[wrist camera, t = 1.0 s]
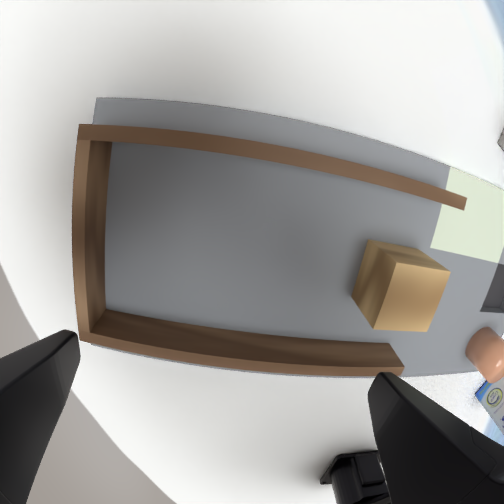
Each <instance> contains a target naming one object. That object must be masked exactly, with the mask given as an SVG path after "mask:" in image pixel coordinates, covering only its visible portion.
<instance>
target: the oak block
mask: <svg viewBox="0 0 504 504" xmlns="http://www.w3.org/2000/svg"><path fill="white" fill-rule="evenodd" d="M450 273H451V271H449V270H448V269H446V268H445V267H444V266H442V265H441V264H439V263H438V262H436V261H435V260H434V259H432V258H431V257H429V256H428V255H426V254H425V253H423V252H422V251H420V250H419V249H416V248H411V247H406V246H401V245H396V244H391V243H386V242H380V241H375V240H370V239H368V242H367V245H366V249H365V252H364V256H363V259H362V263H361V266H360V270H359V273H358V276H357V279H356V283H355V286H354V289H353V292H352V295H351V297H352V299H353V300H354V302H355V303H356V305H357V306H358V308H359V309H360V311H361V312H362V314H363V315H364V317H365V318H366V320H367V321H368V322H369V324H370V325H371V327H372V329H376V330H393V331H415V332H427V330H428V328H429V326H430V324H431V321H432V319H433V317H434V314H435V312H436V310H437V307H438V305H439V302H440V300H441V297H442V294H443V292H444V289H445V287H446V284H447V281H448V278H449V276H450Z"/></svg>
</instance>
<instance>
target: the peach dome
mask: <svg viewBox="0 0 504 504" xmlns="http://www.w3.org/2000/svg"><path fill="white" fill-rule="evenodd" d="M465 355H466V357H467V358H468V359H469V360H470V362H471V363H472V364H473V365H474V366H475V367H476V369H477V370H478V371H479V372H480V373H481V374H482V375H483V377H484V378H485V379H486V380H487V381H488V382H489V383H495V382H497V381H499V380H500V379H501V378H503V377H504V340H503V339H502V338H501V337H500V336H499V335H498V334H497V333H496V332H495V331H494V330H493V329H491V328H490V327H483V328H481V329H480V330H478V331H477V332H476V333H475V334H474V335H473V336H472V338H471V339H470V340H469V342H468V344H467V346H466V350H465Z"/></svg>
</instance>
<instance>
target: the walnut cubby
mask: <svg viewBox="0 0 504 504" xmlns="http://www.w3.org/2000/svg"><path fill="white" fill-rule="evenodd" d="M112 142H125V143H137V144H148V145H158V146H168V147H177V148H185V149H193V150H201V151H208V152H216V153H223V154H229V155H236V156H242V157H248V158H254V159H260V160H266V161H271V162H277V163H282V164H287V165H292V166H297V167H302V168H307V169H312V170H317V171H321V172H326V173H330V174H335V175H339V176H343V177H347V178H352V179H356V180H360V181H364V182H368V183H372V184H376V185H379V186H383V187H387V188H391V189H394V190H398V191H402V192H405V193H409V194H412V195H416V196H419V197H422V198H426V199H429V200H432V201H435V202H439V203H442V204H445V205H448V206H451V207H454V208H457V209H460V210H463V211H464V209H465V205H466V201H467V197H464V196H461V195H458V194H456V193H453V192H450V191H447V190H444V189H441V188H439V187H436V186H433V185H430V184H427V183H424V182H420V181H417V180H414V179H411V178H408V177H404V176H401V175H398V174H395V173H391V172H388V171H384V170H381V169H377V168H373V167H370V166H366V165H362V164H359V163H355V162H351V161H347V160H343V159H339V158H335V157H330V156H326V155H322V154H317V153H313V152H308V151H304V150H299V149H294V148H289V147H284V146H279V145H274V144H268V143H263V142H257V141H251V140H245V139H239V138H233V137H226V136H219V135H212V134H204V133H196V132H188V131H179V130H170V129H159V128H147V127H134V126H118V125H95V124H79V129H78V136H77V145H76V155H75V166H74V180H73V200H72V258H73V278H74V292H75V304H76V313H77V322H78V330H79V338H80V340H81V341H85V342H88V343H92V344H97V345H101V346H105V347H109V348H114V349H118V350H123V351H127V352H132V353H137V354H142V355H147V356H152V357H158V358H163V359H169V360H175V361H181V362H187V363H194V364H200V365H207V366H215V367H223V368H231V369H240V370H249V371H259V372H271V373H284V374H299V375H319V376H376V375H377V374H378V373H379V372H392V373H393V374H395V375H396V376H401V374H402V372H403V370H404V368H405V366H404V365H403V363H402V362H401V360H400V359H399V357H398V356H397V354H396V353H395V351H394V350H393V348H392V347H391V345H390V344H389V343H374V342H354V341H337V340H323V339H311V338H299V337H288V336H278V335H269V334H260V333H251V332H243V331H235V330H227V329H220V328H213V327H206V326H199V325H192V324H186V323H180V322H174V321H168V320H162V319H156V318H150V317H145V316H140V315H134V314H129V313H124V312H119V311H114V310H109V309H106V295H105V226H106V205H107V190H108V178H109V167H110V158H111V149H112Z"/></svg>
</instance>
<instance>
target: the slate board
mask: <svg viewBox="0 0 504 504" xmlns="http://www.w3.org/2000/svg"><path fill="white" fill-rule="evenodd" d="M93 124H95V125H118V126H134V127H147V128H159V129H170V130H179V131H188V132H196V133H204V134H212V135H219V136H226V137H233V138H239V139H245V140H251V141H257V142H263V143H268V144H274V145H279V146H284V147H289V148H294V149H299V150H304V151H308V152H313V153H317V154H322V155H326V156H330V157H335V158H339V159H343V160H347V161H351V162H355V163H359V164H362V165H366V166H370V167H373V168H377V169H381V170H384V171H388V172H391V173H395V174H398V175H401V176H404V177H408V178H411V179H414V180H417V181H420V182H424V183H427V184H430V185H433V186H436V187H439V188H441V189H444V190H447V191H450V192H453V193H456V194H458V195H461V196H464V197H467V201H466V205H465V209H464V211H463V210H460V209H457V208H454V207H451V206H448V205H445V204H442V203H439V202H435V201H432V200H429V199H426V198H422V197H419V196H416V195H412V194H409V193H405V192H402V191H398V190H394V189H391V188H387V187H383V186H379V185H376V184H372V183H368V182H364V181H360V180H356V179H352V178H347V177H343V176H339V175H335V174H330V173H326V172H321V171H317V170H312V169H307V168H302V167H297V166H292V165H287V164H282V163H277V162H271V161H266V160H260V159H254V158H248V157H242V156H236V155H229V154H223V153H216V152H208V151H201V150H193V149H185V148H177V147H168V146H158V145H148V144H137V143H125V142H112V149H111V158H110V167H109V178H108V190H107V205H106V226H105V295H106V309H109V310H114V311H119V312H124V313H129V314H134V315H140V316H145V317H150V318H156V319H162V320H168V321H174V322H180V323H186V324H192V325H199V326H206V327H213V328H220V329H227V330H235V331H243V332H251V333H260V334H269V335H278V336H288V337H299V338H311V339H323V340H337V341H354V342H374V343H389V344H390V345H391V347H392V348H393V350H394V351H395V353H396V354H397V356H398V357H399V359H400V360H401V362H402V363H403V365H404V366H405V368H404V370H403V372H402V374H401V376H398V377H415V376H431V375H445V374H456V373H466V372H474V371H478V370H477V369H476V367H475V366H474V365H473V364H472V363H471V362H470V360H469V359H468V358H467V357H466V355H465V350H466V346H467V344H468V342H469V340H470V339H471V338H472V336H473V335H474V334H475V333H476V332H477V331H478V330H480V329H481V328H483V327H490V328H491V329H493V330H494V331H495V332H496V333H497V334H498V335H499V336H500V337H502V335H503V333H504V190H502V189H500V188H498V187H496V186H494V185H492V184H489V183H487V182H485V181H483V180H481V179H478V178H476V177H474V176H472V175H469V174H467V173H465V172H462V171H460V170H457V169H455V168H453V167H450V166H448V165H445V164H443V163H440V162H437V161H435V160H432V159H429V158H427V157H424V156H421V155H418V154H416V153H413V152H410V151H407V150H404V149H401V148H398V147H395V146H392V145H389V144H386V143H383V142H379V141H376V140H373V139H370V138H366V137H363V136H359V135H356V134H352V133H349V132H345V131H341V130H337V129H333V128H329V127H325V126H321V125H317V124H313V123H309V122H304V121H300V120H295V119H290V118H286V117H281V116H276V115H270V114H265V113H259V112H254V111H248V110H241V109H235V108H228V107H221V106H214V105H206V104H197V103H188V102H177V101H165V100H151V99H132V98H97V99H96V105H95V111H94V117H93ZM368 239H370V240H375V241H380V242H386V243H391V244H396V245H401V246H406V247H411V248H416V249H419V250H420V251H422V252H423V253H425V254H426V255H428V256H429V257H431V258H432V259H434V260H435V261H436V262H438V263H439V264H441V265H442V266H444V267H445V268H446V269H448V270H449V271H451V273H450V276H449V278H448V281H447V284H446V287H445V289H444V292H443V294H442V297H441V300H440V302H439V305H438V307H437V310H436V312H435V314H434V317H433V319H432V321H431V324H430V326H429V328H428V330H427V332H415V331H393V330H376V329H372V327H371V325H370V324H369V322H368V321H367V320H366V318H365V317H364V315H363V314H362V312H361V311H360V309H359V308H358V306H357V305H356V303H355V302H354V300H353V299H352V297H351V295H352V292H353V289H354V286H355V283H356V279H357V276H358V273H359V270H360V266H361V263H362V259H363V256H364V252H365V249H366V245H367V242H368ZM91 345H94V346H98V347H102V348H106V349H111V350H115V351H120V352H124V353H129V354H134V355H139V356H144V357H149V358H154V359H159V360H165V361H171V362H177V363H183V364H189V365H196V366H203V367H210V368H217V369H225V370H234V371H243V372H253V373H263V374H275V375H289V376H307V377H333V378H375V377H376V376H319V375H299V374H284V373H271V372H259V371H249V370H240V369H231V368H223V367H215V366H207V365H200V364H194V363H187V362H181V361H175V360H169V359H163V358H158V357H152V356H147V355H142V354H137V353H132V352H127V351H123V350H118V349H114V348H109V347H105V346H101V345H97V344H92V343H91Z"/></svg>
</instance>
